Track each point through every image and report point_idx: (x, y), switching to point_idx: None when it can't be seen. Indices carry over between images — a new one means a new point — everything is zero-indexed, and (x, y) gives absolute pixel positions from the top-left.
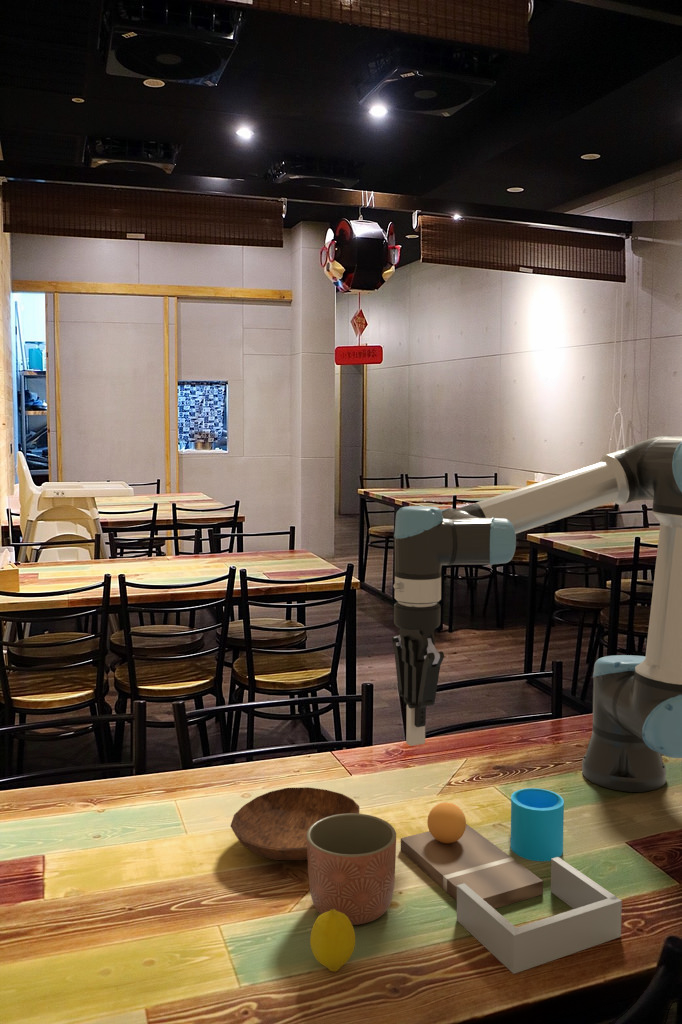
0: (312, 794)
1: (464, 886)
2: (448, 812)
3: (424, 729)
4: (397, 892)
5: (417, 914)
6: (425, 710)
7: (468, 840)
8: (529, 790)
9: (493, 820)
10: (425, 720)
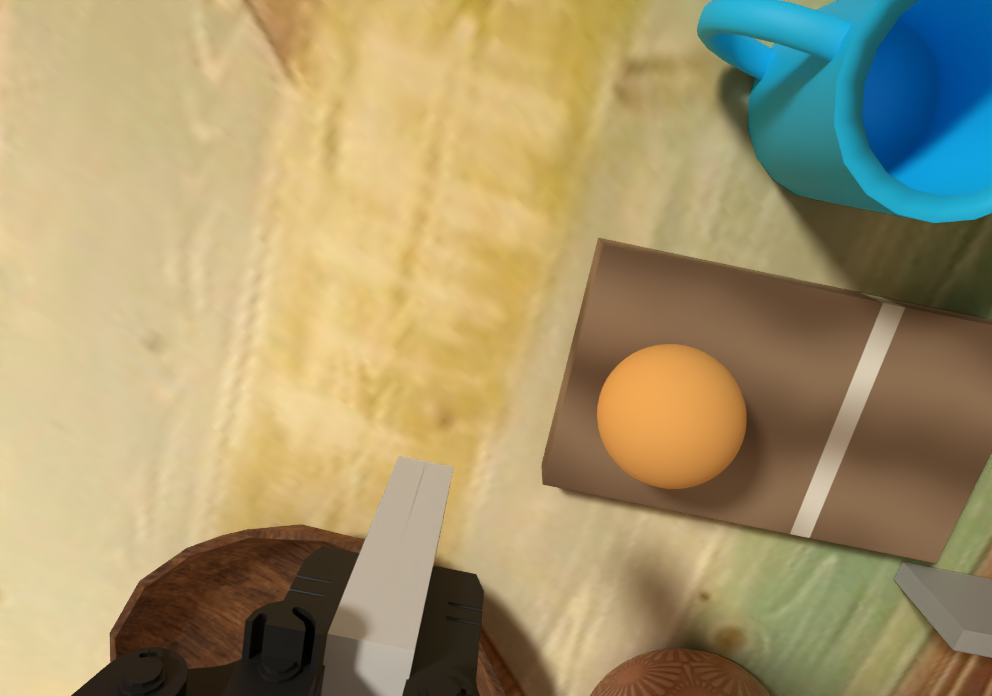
0: (173, 571)
1: (975, 641)
2: (716, 464)
3: (440, 519)
4: (698, 601)
5: (802, 625)
6: (476, 674)
7: (705, 331)
8: (883, 36)
9: (594, 63)
10: (481, 608)
